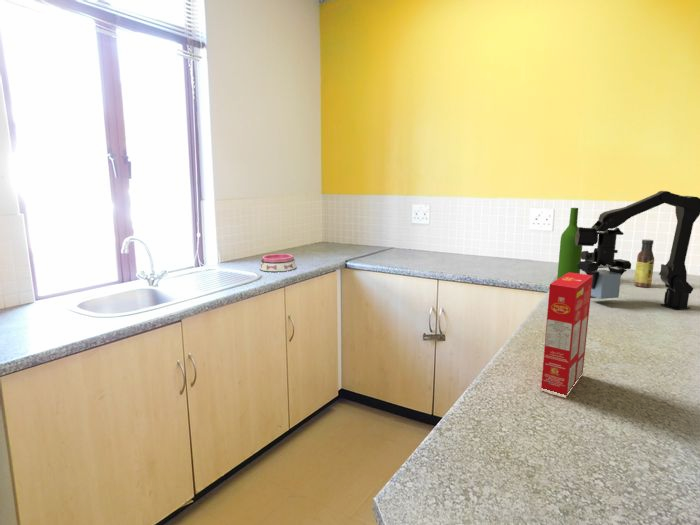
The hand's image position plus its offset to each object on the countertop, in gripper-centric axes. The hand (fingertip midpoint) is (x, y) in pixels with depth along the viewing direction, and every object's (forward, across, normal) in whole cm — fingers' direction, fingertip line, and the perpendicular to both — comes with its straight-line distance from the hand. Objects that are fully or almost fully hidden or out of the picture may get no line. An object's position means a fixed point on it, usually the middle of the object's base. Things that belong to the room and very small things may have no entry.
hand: (601, 287), depth 170 cm
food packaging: (+6, +58, +53) cm, 79 cm away
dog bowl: (+6, +112, -93) cm, 146 cm away
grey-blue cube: (+3, 0, 0) cm, 3 cm away
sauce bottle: (+6, -36, -17) cm, 40 cm away
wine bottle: (+6, -12, -33) cm, 35 cm away
